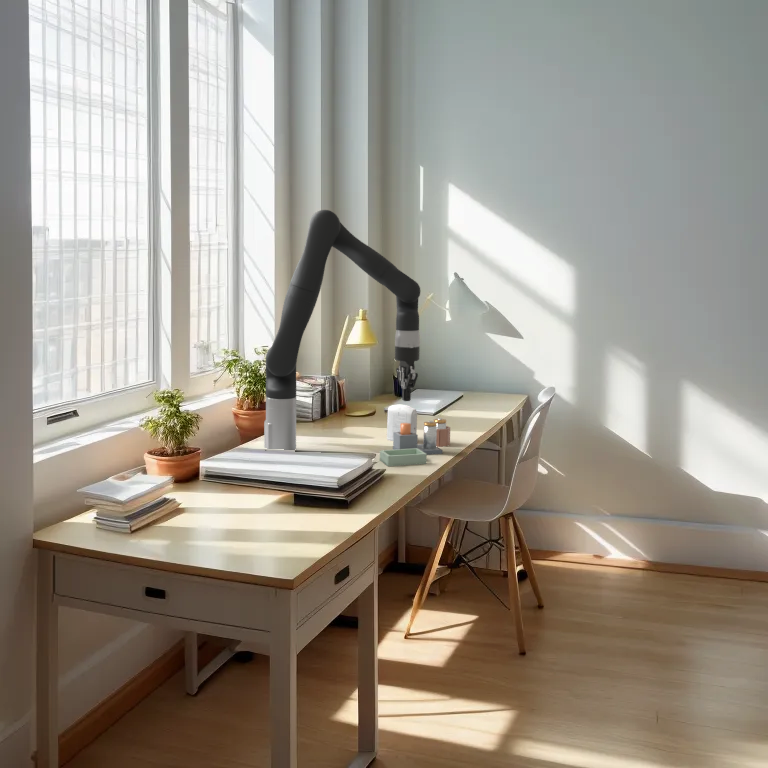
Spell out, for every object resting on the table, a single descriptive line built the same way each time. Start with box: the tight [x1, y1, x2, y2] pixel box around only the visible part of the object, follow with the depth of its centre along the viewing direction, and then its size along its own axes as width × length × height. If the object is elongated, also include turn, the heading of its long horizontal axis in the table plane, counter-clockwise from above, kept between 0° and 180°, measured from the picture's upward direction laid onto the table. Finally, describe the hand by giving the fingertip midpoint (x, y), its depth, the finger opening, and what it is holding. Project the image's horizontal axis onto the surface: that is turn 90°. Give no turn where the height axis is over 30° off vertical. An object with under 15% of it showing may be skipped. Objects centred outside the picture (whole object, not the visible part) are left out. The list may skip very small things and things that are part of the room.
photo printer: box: [386, 403, 418, 442], centre depth 288 cm, size 10×4×12 cm, turn 57°
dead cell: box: [433, 417, 447, 429], centre depth 284 cm, size 4×4×8 cm
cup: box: [436, 425, 451, 448], centre depth 285 cm, size 6×6×6 cm
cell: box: [422, 420, 437, 450], centre depth 274 cm, size 4×4×8 cm
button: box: [400, 423, 411, 435], centre depth 274 cm, size 3×3×5 cm
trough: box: [379, 448, 428, 467], centre depth 262 cm, size 12×8×3 cm, turn 109°
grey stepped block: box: [392, 431, 443, 456], centre depth 274 cm, size 13×9×6 cm
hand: (406, 400), depth 273 cm, fingers closed
